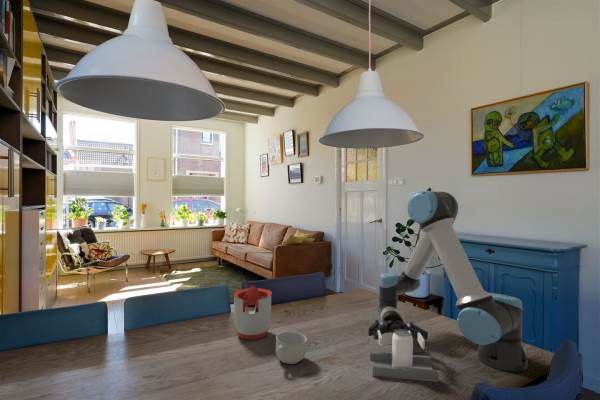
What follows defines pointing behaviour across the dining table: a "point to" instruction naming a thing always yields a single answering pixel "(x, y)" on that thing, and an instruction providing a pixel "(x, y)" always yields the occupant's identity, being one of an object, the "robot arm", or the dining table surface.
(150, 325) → the dining table surface
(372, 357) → the tray
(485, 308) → the robot arm
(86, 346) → the dining table surface
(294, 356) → the teacup
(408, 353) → the can
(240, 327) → the citrus juicer
